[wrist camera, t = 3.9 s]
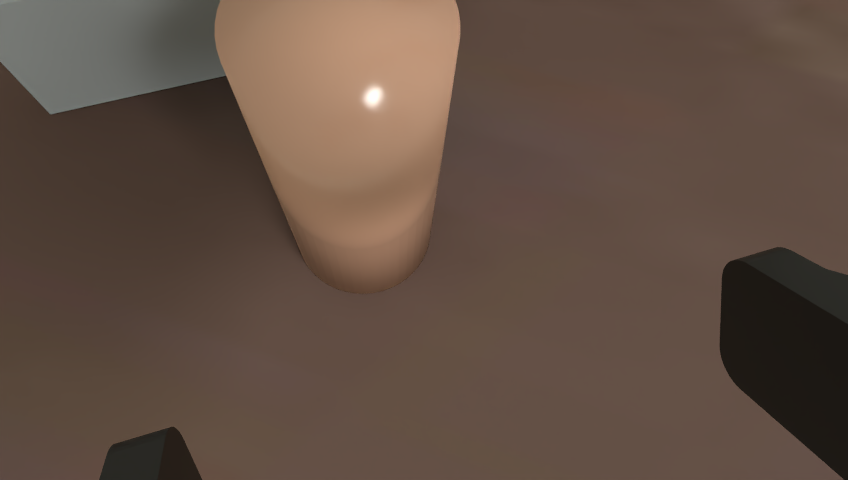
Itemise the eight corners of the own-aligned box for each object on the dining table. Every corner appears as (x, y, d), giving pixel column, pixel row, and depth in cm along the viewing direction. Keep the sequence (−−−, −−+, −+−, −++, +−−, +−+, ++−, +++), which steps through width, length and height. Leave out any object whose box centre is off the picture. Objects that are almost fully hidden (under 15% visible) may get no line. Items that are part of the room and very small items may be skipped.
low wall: (437, 6, 29) (447, -109, 23) (444, 27, 28) (457, -85, 23) (47, 90, 26) (-47, -16, 21) (50, 114, 26) (-46, 13, 20)
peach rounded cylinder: (409, 156, 26) (420, -89, 15) (447, 273, 24) (493, 95, 13) (283, 187, 25) (194, -46, 14) (314, 309, 23) (241, 156, 12)
